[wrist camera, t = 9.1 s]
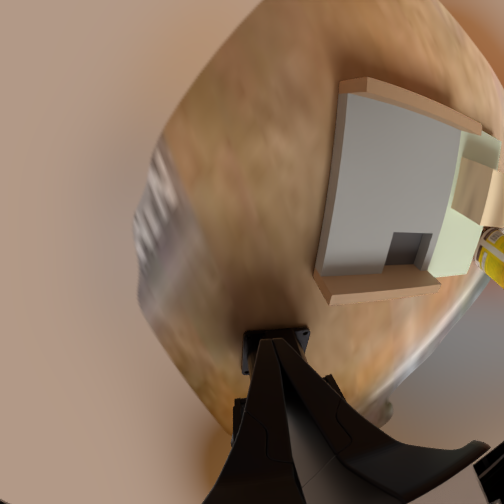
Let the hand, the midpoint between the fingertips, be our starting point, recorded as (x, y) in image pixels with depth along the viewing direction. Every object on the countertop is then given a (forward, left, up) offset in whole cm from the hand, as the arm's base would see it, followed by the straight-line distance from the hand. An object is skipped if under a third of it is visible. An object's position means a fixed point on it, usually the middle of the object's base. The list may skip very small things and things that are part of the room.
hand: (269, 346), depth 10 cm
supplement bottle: (-2, -31, -12) cm, 33 cm away
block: (+5, -23, -11) cm, 26 cm away
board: (+3, -17, -12) cm, 21 cm away
